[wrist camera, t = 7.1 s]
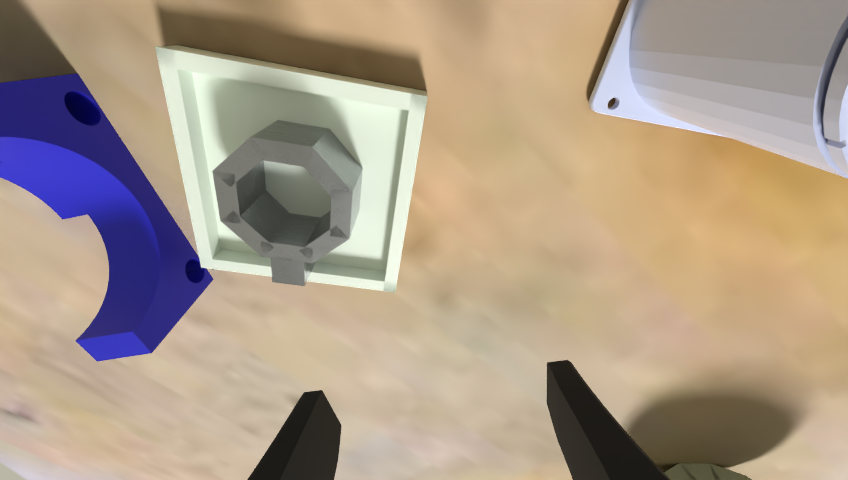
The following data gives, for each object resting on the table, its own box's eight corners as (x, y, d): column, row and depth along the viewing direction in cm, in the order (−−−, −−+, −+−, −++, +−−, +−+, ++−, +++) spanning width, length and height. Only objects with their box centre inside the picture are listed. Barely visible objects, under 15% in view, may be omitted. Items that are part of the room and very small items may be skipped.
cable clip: (-4, 93, 16) (-203, 123, 11) (81, 72, 16) (-85, 93, 10) (151, 288, 22) (70, 365, 17) (214, 277, 22) (151, 352, 17)
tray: (427, 91, 16) (427, 96, 15) (396, 276, 22) (395, 292, 20) (178, 45, 15) (155, 46, 14) (215, 252, 20) (201, 267, 19)
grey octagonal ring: (365, 134, 16) (354, 153, 14) (355, 258, 20) (346, 291, 18) (240, 113, 16) (205, 129, 13) (254, 244, 20) (229, 276, 17)
